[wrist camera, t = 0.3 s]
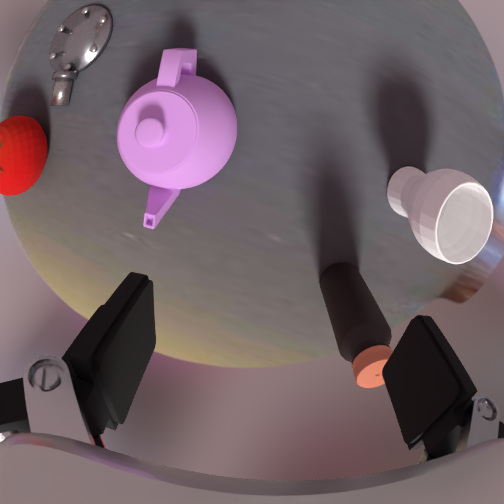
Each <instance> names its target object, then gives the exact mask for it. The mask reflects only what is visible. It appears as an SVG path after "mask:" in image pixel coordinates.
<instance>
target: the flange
mask: <svg viewBox="0 0 504 504" xmlns="http://www.w3.org/2000/svg"><path fill="white" fill-rule="evenodd" d="M112 30H113V19H112V16H111V14H110V12H109V11H108V10H106V9H105V8H103V7H101V6H97V5H92V6H87V7H84V8H81V9H79V10H78V11H76V12H75V13H73V14H72V15H71V16H69V17H68V18H67V19H66V20H65V21H64V22H63V24H62V25H61V26H60V27H59V28H58V31H57V32H56V34H55V36H54V38H53V41H52V43H51V47H50V62H51V65H52V67H53V69H54V70H55V71H56V72H54V73H53V78H52V80H55V84H54V89H53V94H52V100H51V106H66V105H68V104H69V98H70V93H71V87H72V82H73V80H75V79H77V75H78V72H80V71H82V70H84V69H86V68H87V67H89V66H90V65H91V64H92V63H93V62H94V61H95V60H96V59H97V58H98V57H99V56H100V55H101V53H102V52H103V51H104V49H105V47H106V46H107V44H108V42H109V40H110V37H111V34H112Z"/></svg>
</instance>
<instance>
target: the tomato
mask: <svg viewBox="0 0 504 504" xmlns="http://www.w3.org/2000/svg"><path fill="white" fill-rule="evenodd" d="M46 159H47V139H46V136H45V133H44V131H43V129H42V126H41V125H40V124H39V123H38V122H37V121H36V120H35V119H33V118H31V117H28V116H21V115H17V116H13V117H10V118H8V119H6V120H4V121H3V122H1V123H0V194H3V195H7V196H10V195H18V194H21V193H23V192H25V191H26V190H28V189H29V188H30V187H32V186H33V185H34V183H35V182H36V181H37V180H38V178H39V177H40V175H41V173H42V171H43V168H44V166H45V163H46Z"/></svg>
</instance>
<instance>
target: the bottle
mask: <svg viewBox="0 0 504 504" xmlns="http://www.w3.org/2000/svg"><path fill="white" fill-rule="evenodd" d="M320 288H321V291H322V294H323V297H324V301H325V304H326V307H327V311H328V314H329V317H330V321H331V324H332V327H333V331H334V334H335V338H336V341H337V345H338V349H339V352H340V355H341V356H342V357H343V358H344V359H345V360H347V361H349V362H352V368H353V371H354V376H355V379H356V382H357V384H358V385H359V386H361V387H364V388H373V387H377V386H380V385H382V384H384V383H385V382H384V379H383V377H382V370H383V367H384V365H385V364H386V362H387V361H388V359H389V357H390V356H391V354H392V353H393V351H392V350H391V348H390V347H389V344H390V341H391V337H392V336H391V329H390V327H389V325H388V323H387V321H386V319H385V318H384V316H383V314H382V312H381V310H380V308H379V306H378V305H377V303H376V301H375V299H374V297H373V296H372V294H371V292H370V290H369V288H368V287H367V285H366V283H365V281H364V280H363V278H362V276H361V275H360V273H359V271H358V270H357V269H356V267H354V266H353V265H351V264H348V263H337V264H334V265H332V266H330V267H329V268H328V269H326V271H325V272H324V273H323V274H322V277H321V280H320Z"/></svg>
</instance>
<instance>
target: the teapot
mask: <svg viewBox="0 0 504 504" xmlns="http://www.w3.org/2000/svg"><path fill="white" fill-rule="evenodd" d="M196 64H197V49H188V48H175V49H166V50H163V54H162V59H161V64H160V68H159V73H158V78H156V79H154V80H152V81H150V82H148V83H147V84H145V85H144V86H142V87H141V88H140V89H138V90H137V91H136V92H135V93H134V94H133V95H132V96H131V98H130V99H129V100H128V102H127V103H126V105H125V107H124V108H123V110H122V113H121V115H120V118H119V121H118V127H117V144H118V149H119V152H120V155H121V157H122V160H123V161H124V163H125V165H126V166H127V168H128V169H129V170H130V171H131V172H132V173H133V174H134V175H135V176H136V177H137V178H139V179H140V180H142V181H144V182H145V183H147V184H149V185H150V190H149V196H148V202H147V208H146V212H145V216H144V227H147V228H151V229H154V228H155V227H156V226H157V224H158V223H159V221H160V220H161V218H162V217H163V216H164V214H165V213H166V211H167V210H168V209H169V207H170V206H171V205H172V203H173V202H174V201H175V199H176V198H177V197H178V195H179V194H180V190H181V189H185V188H191V187H194V186H197V185H199V184H201V183H204V182H205V181H207V180H208V179H210V178H212V177H213V176H214V175H215V174H217V173H218V172H219V171H220V170H221V169H222V168H223V166H224V165H225V164H226V162H227V161H228V159H229V157H230V156H231V154H232V151H233V149H234V146H235V142H236V138H237V118H236V113H235V110H234V107H233V105H232V103H231V101H230V99H229V98H228V96H227V95H226V94H225V93H224V91H223V90H222V89H221V88H219V87H218V86H217V85H216V84H214V83H212V82H211V81H209V80H207V79H205V78H203V77H200V76H196Z"/></svg>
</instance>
